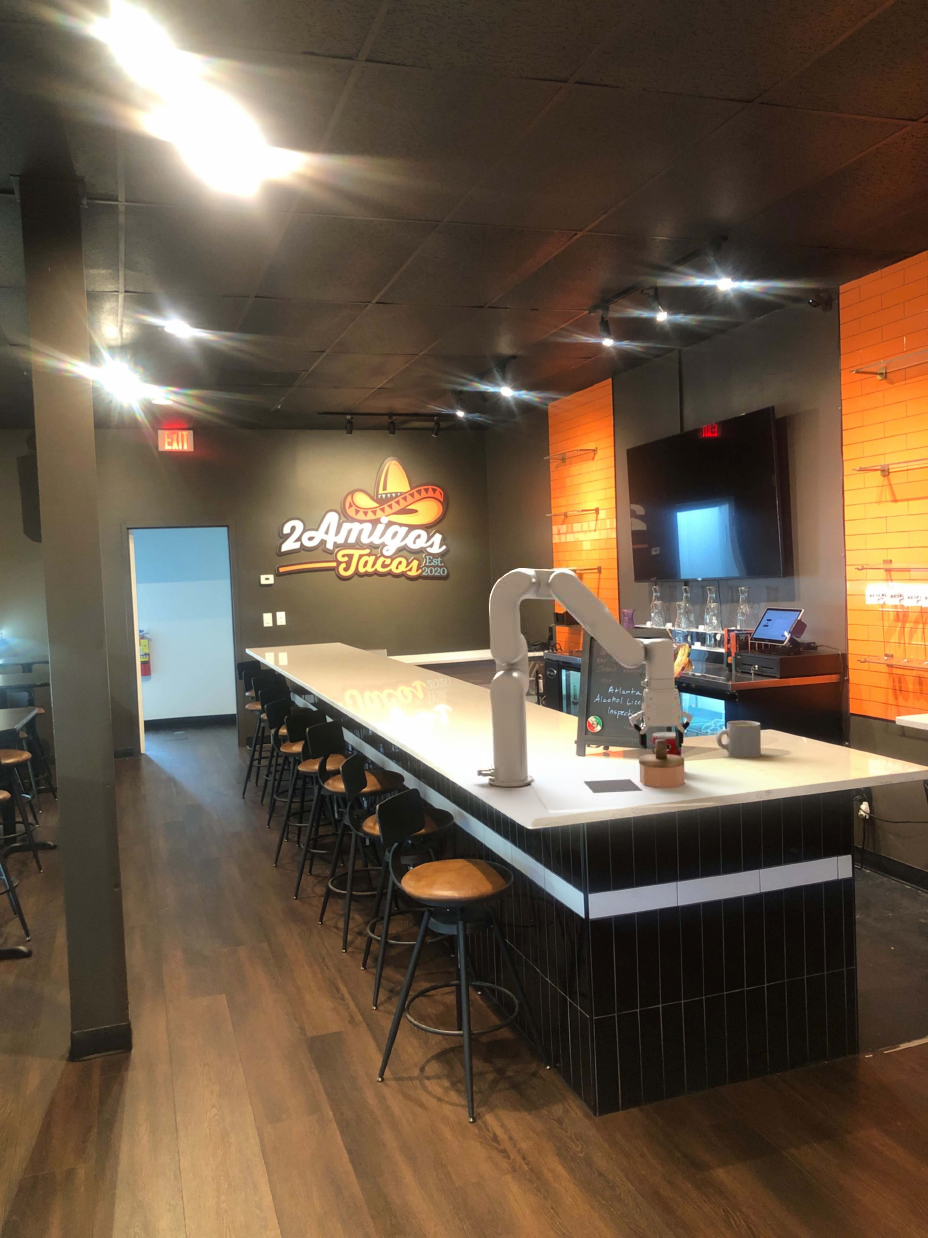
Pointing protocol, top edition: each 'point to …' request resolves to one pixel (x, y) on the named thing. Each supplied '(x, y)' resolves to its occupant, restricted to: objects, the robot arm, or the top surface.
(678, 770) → the bowl
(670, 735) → the canned food
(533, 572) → the robot arm
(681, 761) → the lid
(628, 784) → the mat
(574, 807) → the top surface
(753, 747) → the coffee mug
